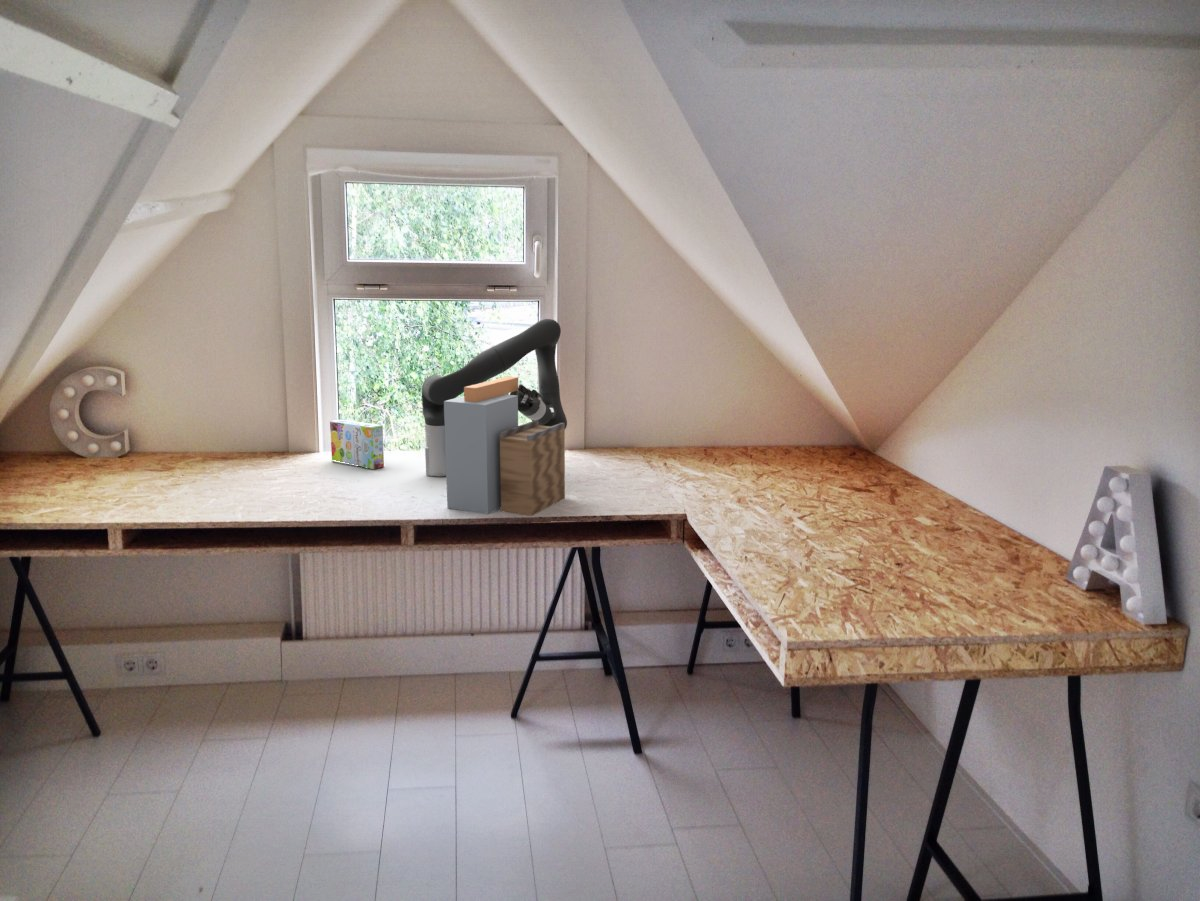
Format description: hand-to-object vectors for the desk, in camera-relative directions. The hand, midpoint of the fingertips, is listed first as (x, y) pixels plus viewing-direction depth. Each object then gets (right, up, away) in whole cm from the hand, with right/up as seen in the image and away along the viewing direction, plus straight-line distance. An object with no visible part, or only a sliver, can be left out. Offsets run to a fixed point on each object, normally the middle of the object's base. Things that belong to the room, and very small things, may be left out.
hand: (507, 386), depth 288 cm
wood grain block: (+8, -36, -7) cm, 38 cm away
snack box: (-57, -25, +42) cm, 75 cm away
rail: (-4, -3, -7) cm, 9 cm away
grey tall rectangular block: (-7, -36, -6) cm, 37 cm away
